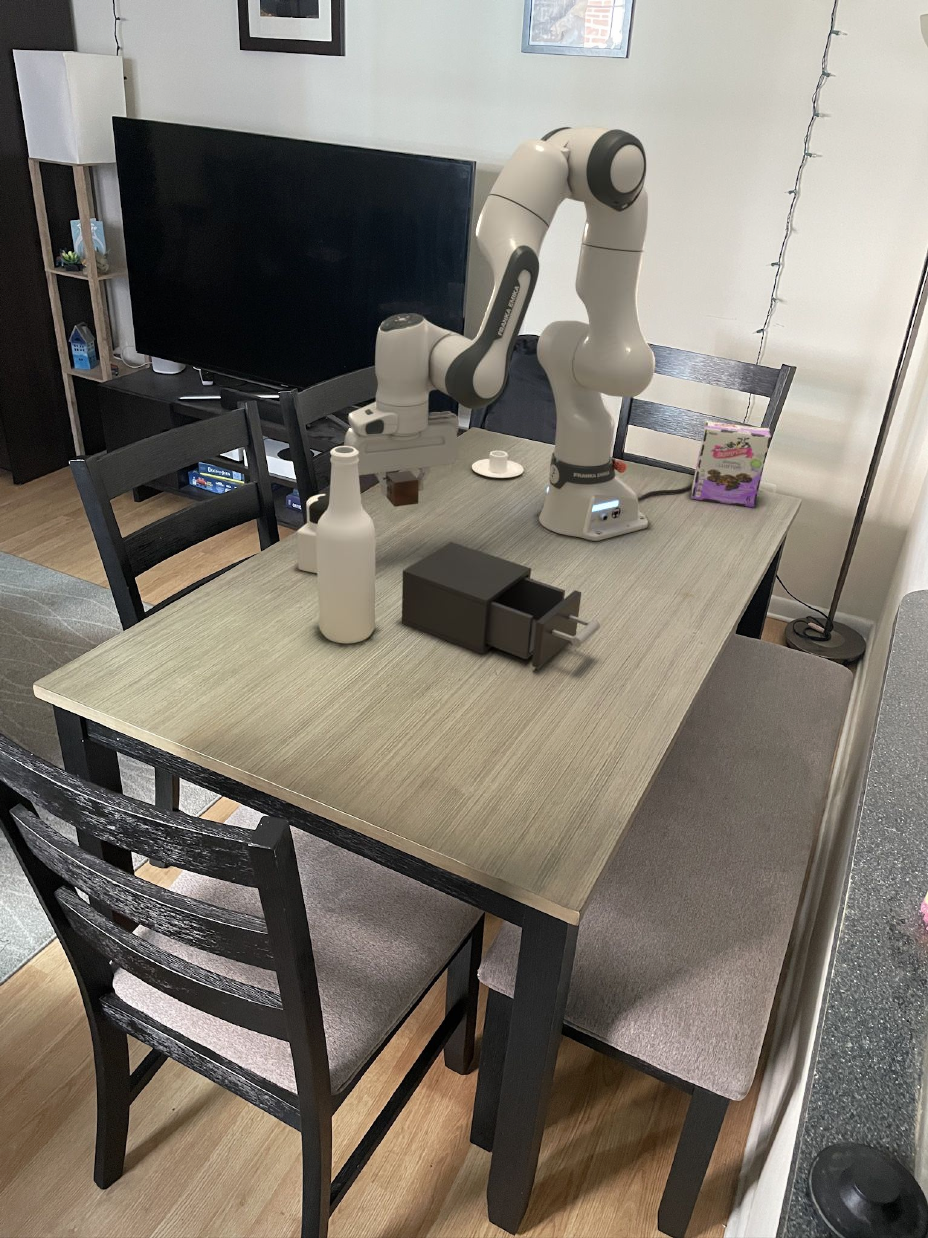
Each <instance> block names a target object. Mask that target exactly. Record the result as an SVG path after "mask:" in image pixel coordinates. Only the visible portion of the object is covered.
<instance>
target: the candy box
mask: <svg viewBox="0 0 928 1238" xmlns="http://www.w3.org/2000/svg"><path fill="white" fill-rule="evenodd" d="M771 438H772V436H771V430H770V428H768V427H758V426H748V425H741V424H734V423H733V424H732V423H723V422H716V421H711V420H705V421H704V427H703V432H702V437H701V442H700V446H699V452H698V457H697V461H696V466H695V470H696V471H695V470H694V472H695V475H694V474H693V476H694V477H693V481H692V482H693V485H692V488H691V499H692V500H698V501H705V502H706V501H707V502H713V503H720V504H727V505H733V506H734V505H735V506H742V507H750V508H755V506H756V501H757V499H758V493H759V489H760V485H761V481H762V476H763V472H764V467H765V463H766V460H767V459H766V458H767V457H768V456H767V455H768V450H769V446H770V442H771Z"/></svg>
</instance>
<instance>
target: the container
mask: <svg viewBox="0 0 928 1238" xmlns="http://www.w3.org/2000/svg"><path fill="white" fill-rule="evenodd" d="M329 501H330V493H320V494H319V493H318V494H316V495H313V496H310V497H309V498H308V500H306V523H305V524H304V525H303V526H301V527H299V529H297V530H296V543H297V545H296V546H297V562H298V563H297V564H298V565H297V566H298V570H300V571H303V572H309V573H314V574H317V548H316V529H317V525H318V521H319V519H320V518H321V516H322V515H323V514H324V513H325V511H326V510H327V509H328V506H329Z"/></svg>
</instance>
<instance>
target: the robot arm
mask: <svg viewBox="0 0 928 1238" xmlns="http://www.w3.org/2000/svg"><path fill="white" fill-rule="evenodd" d="M646 176H647V156H646V151H645V148H644V144H643V142H641V141H640V139H639V138H638V137H636V135H633V134H632V133H630V132H628V131H625V130H622V129H619V128H618V129H617V128H616V129H615V128H614V129H612V128H608V127H603V126H602V127H601V126H596V125H595V126H594V125H588V126H582V127H570V126H564V127H563V126H561V127H559V128H555V129H553V130H551V131H549V132H547V133H546V134H545V135H544V136H542V138H540V139H528V140H525V141H524V142H522V143H520V144H519V145H518V146H517V148H516V149H515V150H514V152H513V153H512V155H511V156H510V157H509V159H508V160H507V161H506V163H505V164H504V167H503V168H502V170H501V171H500V173H499V174H498V177H497V179H496V181H495V182H494V183H493V186H492V188H491V190H490V192H489V195H488V196H487V198H486V200H485V202H484V205H483V207H482V208H481V212H480V214H479V217H478V221H477V224H476V228H475V239H476V244H477V247H478V249H479V252H480V254H481V256H482V257H483V259H484V260H485V262H486V263H487V264H488V266H489V267H490V269H491V271H492V274H493V280H494V282H493V283H494V284H493V285H494V286H493V291H492V294H491V297H490V299H489V303H488V306H487V308H486V311H485V313H484V317H483V319H482V322H481V325H480V328H479V330H478V333H477V335H476V336H475V337H474V338H473V339H470V338H468V337H466V336H464V335H462V334H461V333H457V332H455V331H452V330H449V329H445V328H442V327H439V326H438V325H435V324H433V323H432V322H430V321H428V320H427V319H425V317H424V316H423V315H421V314H418V313H414V312H413V313H411V312H409V313H398V314H394V315H391V316H389V317H387V318H386V319H385V320H383V321H382V322H381V324H380V325H379V327H378V331H377V334H376V340H375V341H376V342H375V352H374V353H375V354H374V371H375V377H376V380H377V389H376V392H375V401H374V402H371V403H370V404H367V405H366V406H365V405H364V406H363V407H360V408H359V409H356V410H354V411H352V412H349V413H348V416H347V420H348V424H349V426H350V428H349V429H348V430H347V431H346V433H345V436H344V440H343V441H344V442H343V446H349V447H353V448H355V449H356V450H358V452H359V454H358V459H359V462H358V473H359V476H365V475H373V474H374V476H375V477H376V479H377V480H378V482H379V484H380V493H381V494H382V496H386V495H390V494H392V491H391V490H392V486H391V484H390V483H389V482H386V480H385V479H386V474H387V473H392V472H400V471H409V470H414V469H415V470H417V469H418V470H419V473H418V474H417V476H416V478H417V479H418V480H419V492H421V491H424V482H425V481H426V480H427V478H428V476H429V475H430V472H431V467H432V468H433V467H440V466H448V465H454V464H456V463H457V461H458V460H459V457H460V454H459V453H460V451H459V439H458V432H459V427H460V421H459V417H458V416H457V414H456V413H452V411H450V410H445V411H441V412H440V411H439V412H437V411H433V412H429V395H430V392H432V391H436V390H438V391H440V392H441V393H443V394H444V395H447V396H449V397H450V398H452V399H453V400H454V401H455V402H457V403H458V404H459V405H460V406H462V407H463V408H467V409H470V410H479V409H483V408H486V407H487V406H489V405H491V404H492V403H494V402H495V401H496V400H497V399H498V398H499V397H500V395H501V394H502V392H503V391H504V389H505V386H506V384H507V380H508V375H509V369H510V362H511V358H512V354H513V350H514V347H515V345H516V343H517V339H518V336H519V334H520V332H521V328H522V325H523V322H524V321H525V318H526V316H527V312H528V310H529V306H530V303H531V301H532V298H533V295H534V292H535V289H536V286H537V282H538V278H539V273H540V261H539V258H540V253H541V250H542V246H543V243H544V241H545V239H546V236H547V233H548V231H549V229H550V227H551V225H552V223H553V221H554V218H555V216H556V213H557V211H558V209H559V206H560V205H561V204H562V203H563V202H564V201H565V200H566V199H568V200H571V201H572V200H573V201H575V202H581V203H583V204H584V208H585V214H586V219H585V223H584V227H583V228H584V229H583V233H582V238H581V244H580V251H579V257H578V264H577V270H576V276H575V277H576V278H575V285H574V286H575V291H576V294H577V296H578V298H579V299H580V301H581V302H582V304H583V305H584V307H585V310H586V314H587V317H588V323H586V322H583V321H579V320H555V321H552V322H550V323H549V324H548V325H546V327H545V328H544V329H543V330H542V332H541V333H540V335H539V337H538V340H537V345H536V357H537V361H538V362H539V365H540V366H541V367H542V369H543V370H544V373H546V375H547V378H548V380H549V383H550V387H551V390H552V393H553V398H554V403H555V411H556V427H555V439H554V440H555V441H554V450H553V452H552V453H551V459H550V464H549V465H550V466H549V485H548V487H547V488H546V497H545V501H544V504H543V506H542V507H543V508H542V510H541V511H540V514H539V516H538V521H539V523H540V524H541V526H543V527H544V528H545V529H548V530H549V531H551V532H555V533H557V534H561V535H563V536H564V535H565V536H570V537H576V538H577V537H578V538H582V539H585V540H588V541H591V542H592V541H593V542H598V541H602V540H607V539H610V538H614V537H618V536H622V535H625V534H628V533H633V532H636V531H639V530H644V529H646V528H647V529H648V526H649V521H648V518H647V517H646V515H645V514H643V512H641V511H640V510H639V502H640V501H642V500H645V499H646V498H648V497H651V496H654V495H664V494H679V493H683V492H687V491H689V490H690V489H692V485H693V481H692V482H691V483H690V484H689V485H688V486H686V487H683V488H678V489H662V490H661V489H659V490H652V491H649V492H646V493H645V494H643V495H641V496H640V497H638V495H637V494H636V492H635V491H634V490H633V489H632V488H631V487H630V486H629V485H628V484H626V482H625V481H623V480H622V479H621V478H620V477H619V476H618V475H616V471H617V472H618V473H619V474H623V473H625V471H627V469H628V466H627V464H626V463H625V462H622V460H616V458H614V457H612V456H611V454H612V446H613V439H614V432H615V419H614V416H613V414H612V412H611V411H610V409H608V407H607V405H606V403H605V401H604V398H603V395H606V396H609V397H618V398H635V397H637V396H639V395H641V394H642V393H643V392H644V391H645V390H646V389H647V388H648V387H649V385H650V384H651V382H652V380H653V378H654V375H655V372H656V371H655V370H656V358H655V354H654V352H653V350H652V348H651V347H650V346H649V344H648V342H647V340H646V338H645V336H644V334H643V333H644V332H643V330H642V326H641V323H640V319H639V317H640V316H639V311H638V291H639V282H640V276H641V269H642V262H643V259H644V258H643V257H644V250H645V245H646V240H647V233H648V232H647V231H648V219H649V217H648V216H649V197H648V196H649V195H648V192H647V189H646V188H645V187H644V185H645V182H646V181H645V180H646ZM602 394H603V395H602ZM695 471H696V469H695V470H694V473H693V476H694V475H695Z"/></svg>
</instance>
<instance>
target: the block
mask: <svg viewBox="0 0 928 1238" xmlns="http://www.w3.org/2000/svg"><path fill="white" fill-rule="evenodd" d="M385 482H389V483H390V484H391V486H392V490H391V491H392V494H390V495H385V497H386V499H387V500H388V501H389V503H391V505H392V506H393V507H394V508H396V507H403V506H410V505H418V504H419V494H420V493H419V492H420V491H419V480H418V479H417V476H416V475H415V474H414V473H413V472H412V471H410V470H404V471H395V472H387V473H386V477H385Z"/></svg>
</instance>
